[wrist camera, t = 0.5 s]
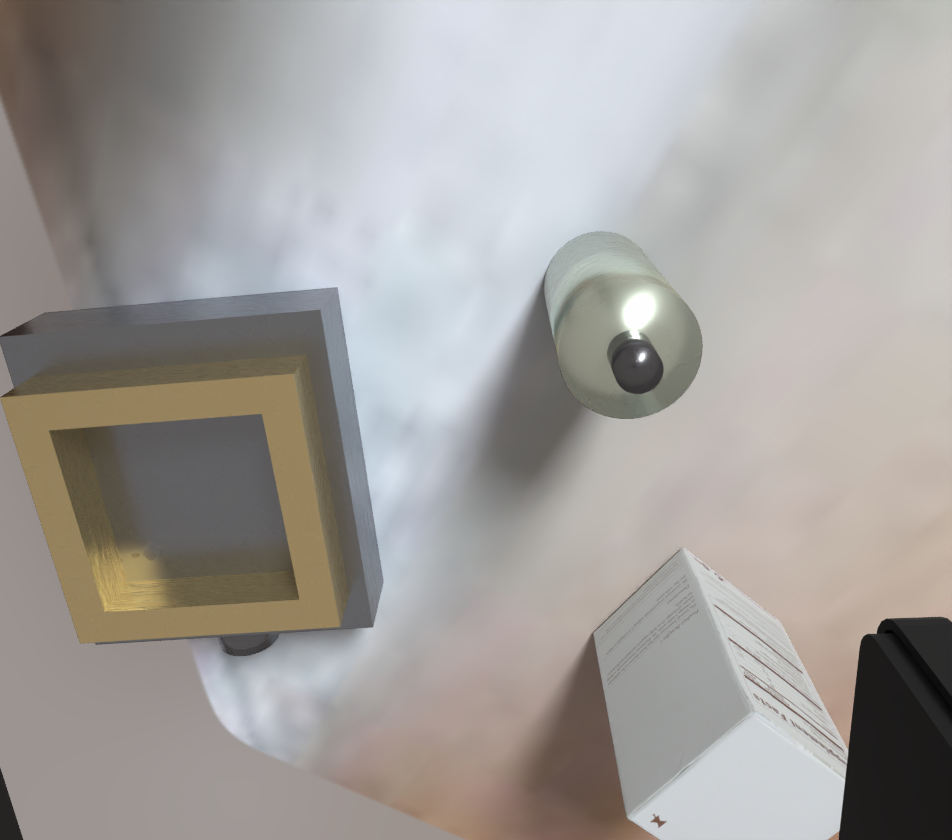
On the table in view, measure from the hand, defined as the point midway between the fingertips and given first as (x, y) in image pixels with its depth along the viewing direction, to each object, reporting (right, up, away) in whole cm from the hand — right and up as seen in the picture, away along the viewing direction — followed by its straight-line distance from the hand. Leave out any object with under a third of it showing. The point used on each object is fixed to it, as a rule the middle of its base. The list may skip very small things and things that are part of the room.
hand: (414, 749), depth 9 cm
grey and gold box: (-12, +2, +33) cm, 36 cm away
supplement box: (+12, -8, +37) cm, 39 cm away
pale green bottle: (+6, +10, +30) cm, 32 cm away
